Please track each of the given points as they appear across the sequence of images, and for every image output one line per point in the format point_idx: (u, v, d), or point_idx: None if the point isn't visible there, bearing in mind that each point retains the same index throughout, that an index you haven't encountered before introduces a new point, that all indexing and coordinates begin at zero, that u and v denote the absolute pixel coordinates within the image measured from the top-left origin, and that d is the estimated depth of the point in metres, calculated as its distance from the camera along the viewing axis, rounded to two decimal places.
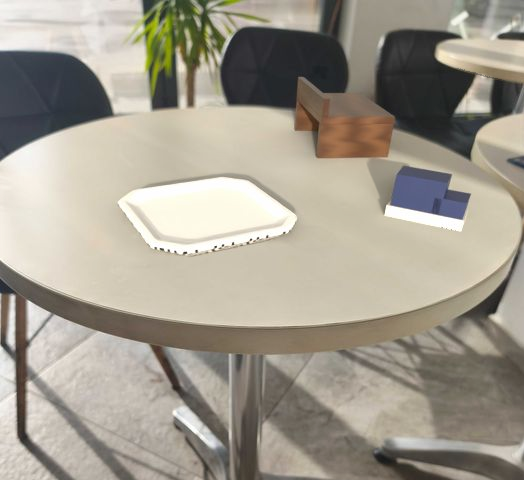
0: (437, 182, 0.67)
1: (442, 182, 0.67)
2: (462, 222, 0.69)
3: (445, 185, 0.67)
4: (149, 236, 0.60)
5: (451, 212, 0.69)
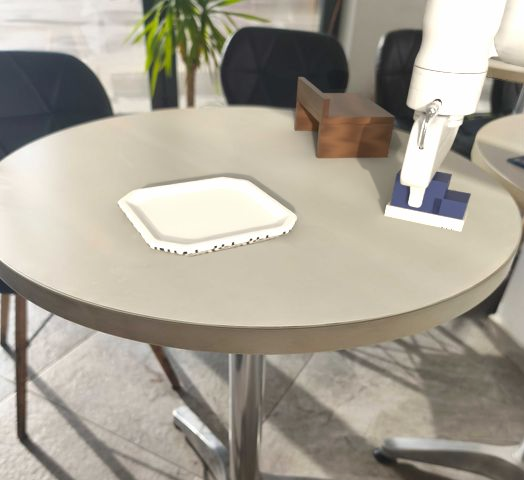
0: (437, 182, 0.67)
1: (442, 182, 0.67)
2: (462, 222, 0.69)
3: (445, 185, 0.67)
4: (149, 237, 0.60)
5: (451, 212, 0.69)
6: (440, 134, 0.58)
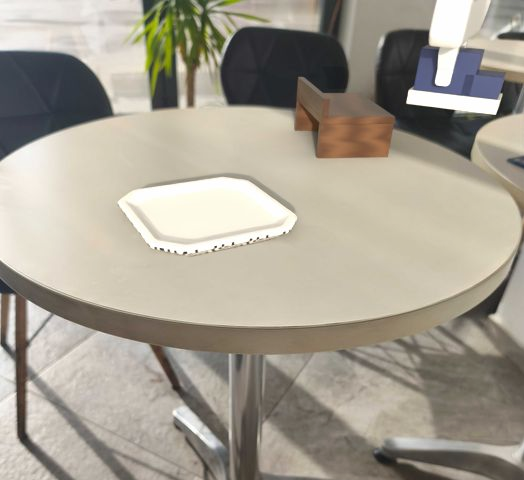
0: (468, 54, 0.58)
1: (475, 53, 0.58)
2: (497, 102, 0.60)
3: (478, 57, 0.58)
4: (149, 237, 0.60)
5: (484, 91, 0.60)
6: None
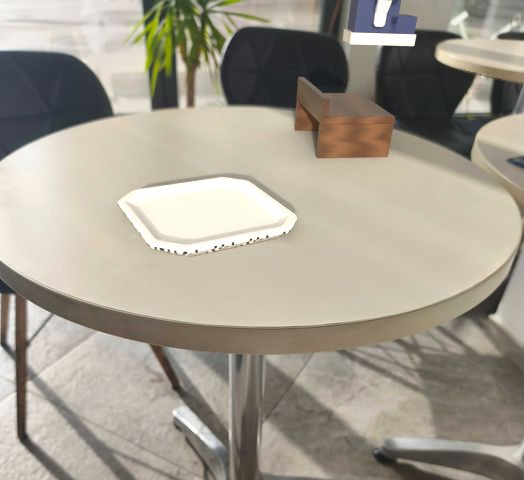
0: (393, 0, 0.77)
1: None
2: (415, 36, 0.81)
3: (399, 2, 0.78)
4: (149, 237, 0.60)
5: (405, 28, 0.80)
6: None
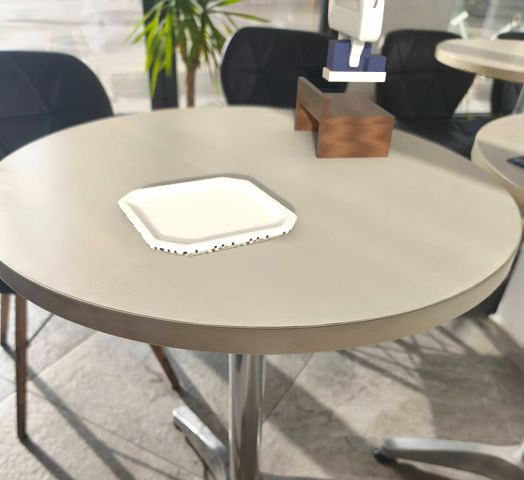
0: (365, 44, 0.89)
1: (368, 43, 0.89)
2: (385, 73, 0.93)
3: (371, 45, 0.90)
4: (149, 237, 0.60)
5: (376, 67, 0.92)
6: None
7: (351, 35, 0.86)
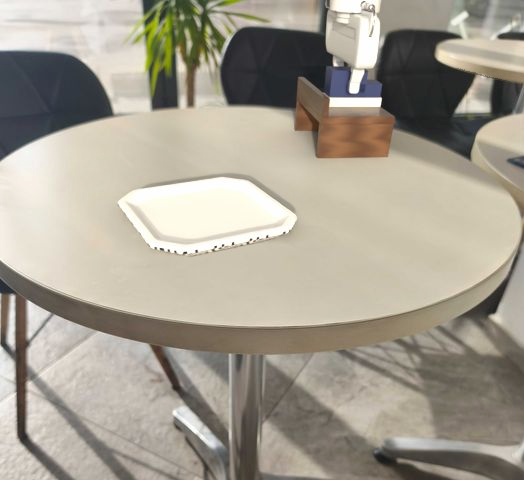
0: None
1: None
2: (380, 99, 0.96)
3: (367, 72, 0.92)
4: (149, 237, 0.60)
5: (372, 93, 0.95)
6: (379, 24, 0.82)
7: (348, 62, 0.88)
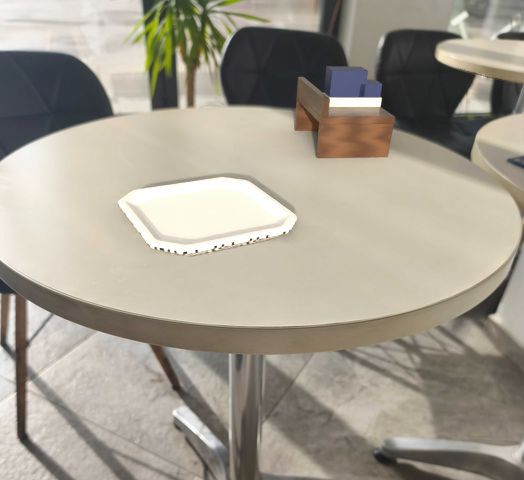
0: (361, 71, 0.92)
1: (364, 70, 0.92)
2: (380, 99, 0.96)
3: (367, 72, 0.92)
4: (149, 236, 0.60)
5: (372, 93, 0.95)
6: None
7: None
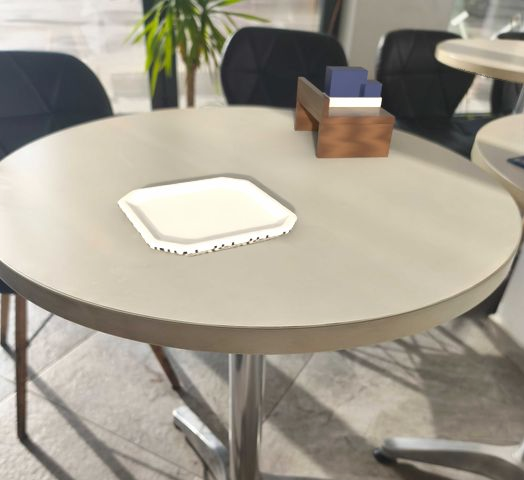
0: (361, 71, 0.92)
1: (364, 70, 0.92)
2: (380, 99, 0.96)
3: (367, 72, 0.92)
4: (149, 236, 0.60)
5: (372, 93, 0.95)
6: None
7: None
